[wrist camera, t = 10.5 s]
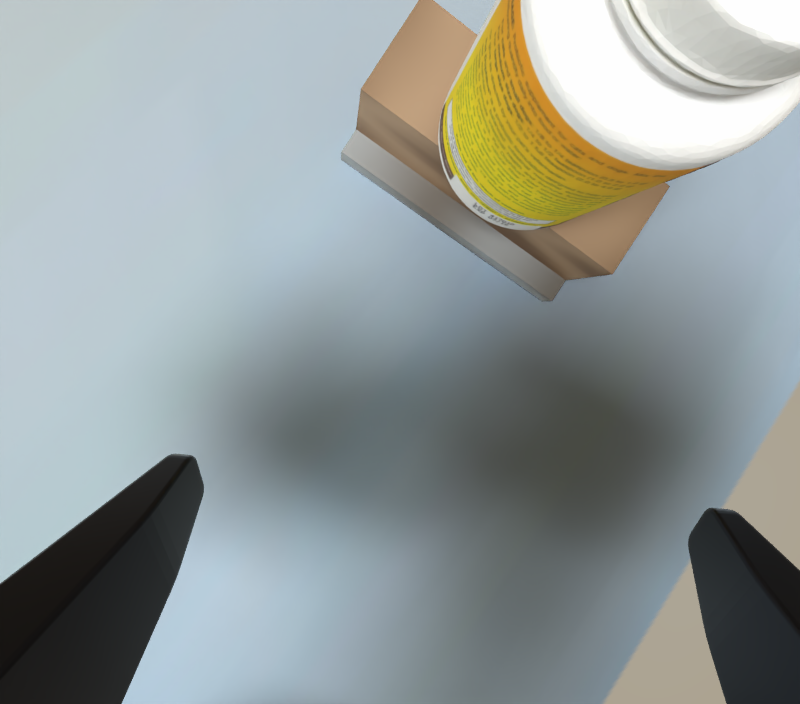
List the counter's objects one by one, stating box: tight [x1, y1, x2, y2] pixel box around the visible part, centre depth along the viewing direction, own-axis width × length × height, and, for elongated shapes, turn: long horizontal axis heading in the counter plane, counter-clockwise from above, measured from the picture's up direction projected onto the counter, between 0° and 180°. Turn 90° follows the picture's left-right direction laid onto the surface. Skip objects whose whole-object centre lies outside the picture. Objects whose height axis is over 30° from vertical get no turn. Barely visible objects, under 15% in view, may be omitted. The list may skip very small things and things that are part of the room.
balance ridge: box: [341, 0, 670, 302], centre depth 19 cm, size 10×6×4 cm, turn 57°
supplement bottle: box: [438, 0, 800, 230], centre depth 11 cm, size 6×6×10 cm
